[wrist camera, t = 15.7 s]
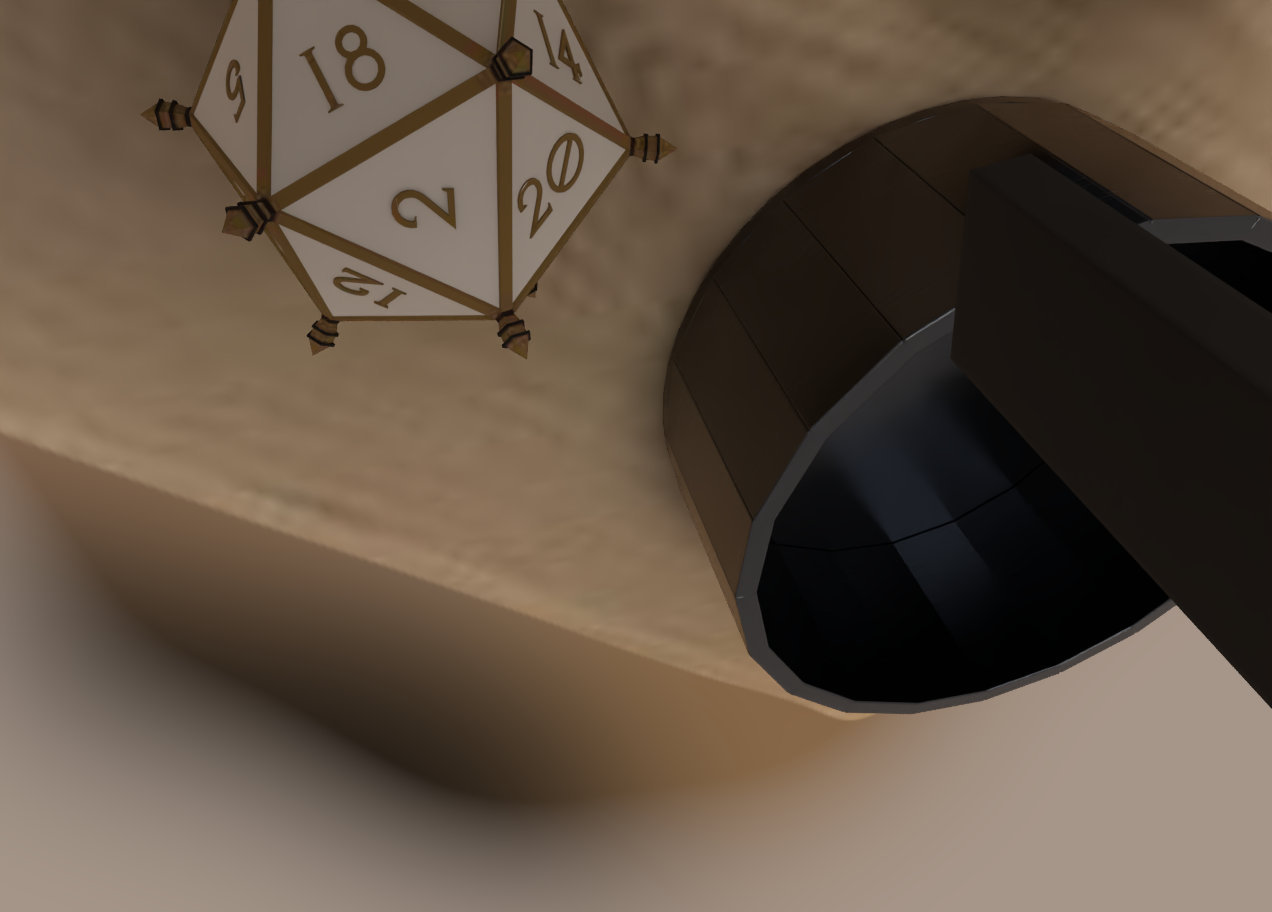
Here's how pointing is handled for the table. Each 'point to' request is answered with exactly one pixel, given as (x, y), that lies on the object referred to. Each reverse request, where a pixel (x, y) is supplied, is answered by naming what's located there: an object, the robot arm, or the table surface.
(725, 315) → the pan
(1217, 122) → the table surface
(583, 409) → the table surface
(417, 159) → the game die
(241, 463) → the table surface
